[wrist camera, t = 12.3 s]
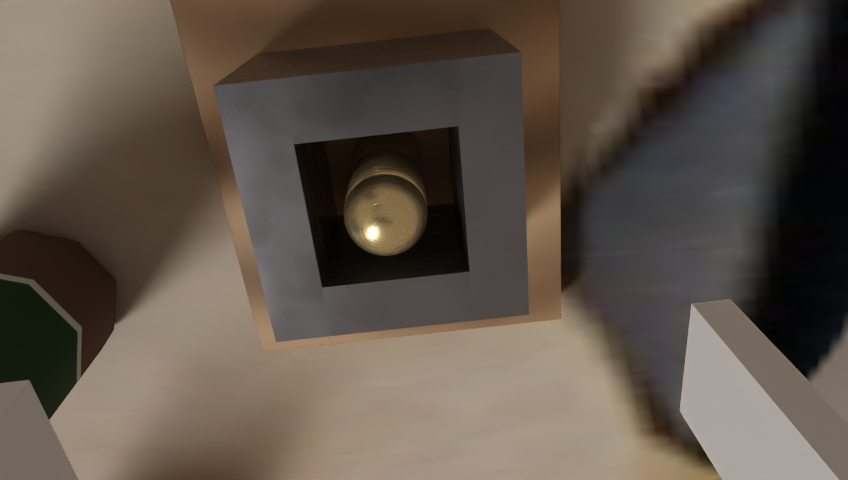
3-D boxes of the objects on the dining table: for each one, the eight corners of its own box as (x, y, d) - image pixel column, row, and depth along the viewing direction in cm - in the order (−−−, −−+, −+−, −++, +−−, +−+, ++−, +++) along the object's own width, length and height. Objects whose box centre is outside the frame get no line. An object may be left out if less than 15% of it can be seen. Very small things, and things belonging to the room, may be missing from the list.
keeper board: (169, -65, 26) (152, -66, 24) (546, -108, 26) (558, -113, 24) (269, 330, 34) (262, 352, 32) (552, 299, 34) (561, 318, 32)
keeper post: (350, 127, 27) (333, 194, 20) (416, 119, 27) (425, 184, 20) (360, 189, 29) (347, 274, 21) (423, 182, 29) (433, 265, 21)
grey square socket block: (257, 53, 26) (212, 85, 20) (490, 28, 26) (521, 51, 20) (300, 260, 30) (275, 342, 24) (500, 239, 30) (529, 314, 24)
